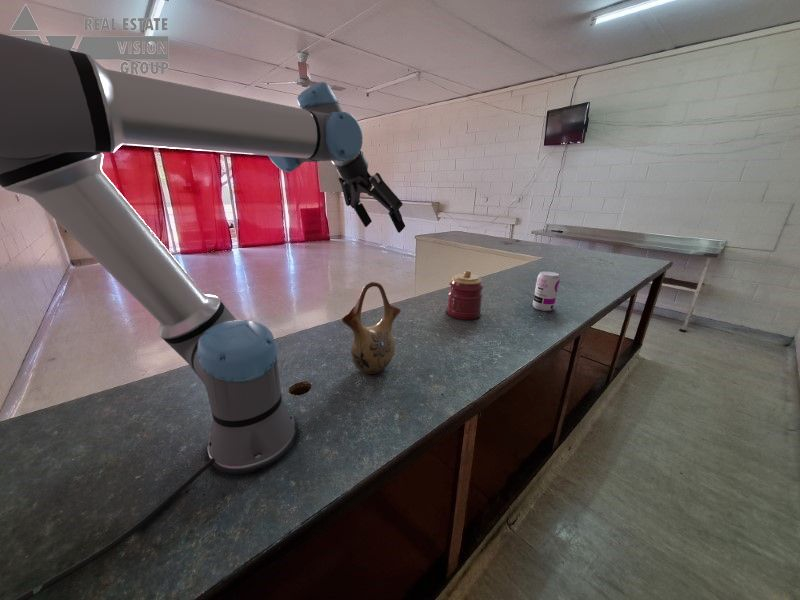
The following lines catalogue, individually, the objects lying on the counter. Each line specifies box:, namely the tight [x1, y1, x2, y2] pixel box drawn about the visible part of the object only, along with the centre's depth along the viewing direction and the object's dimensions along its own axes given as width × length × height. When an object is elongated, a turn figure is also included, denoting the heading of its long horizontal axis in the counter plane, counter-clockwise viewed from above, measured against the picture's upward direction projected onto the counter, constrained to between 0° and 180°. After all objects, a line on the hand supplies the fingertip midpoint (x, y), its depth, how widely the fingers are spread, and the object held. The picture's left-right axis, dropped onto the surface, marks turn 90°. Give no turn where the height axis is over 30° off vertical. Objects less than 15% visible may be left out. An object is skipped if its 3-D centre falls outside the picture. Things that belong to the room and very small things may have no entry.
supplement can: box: [532, 270, 561, 312], centre depth 130 cm, size 8×8×15 cm
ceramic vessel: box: [341, 281, 402, 375], centre depth 81 cm, size 16×9×25 cm, turn 123°
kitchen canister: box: [446, 269, 484, 321], centre depth 121 cm, size 13×13×18 cm
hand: (384, 226), depth 90 cm, fingers open, 13 cm apart
